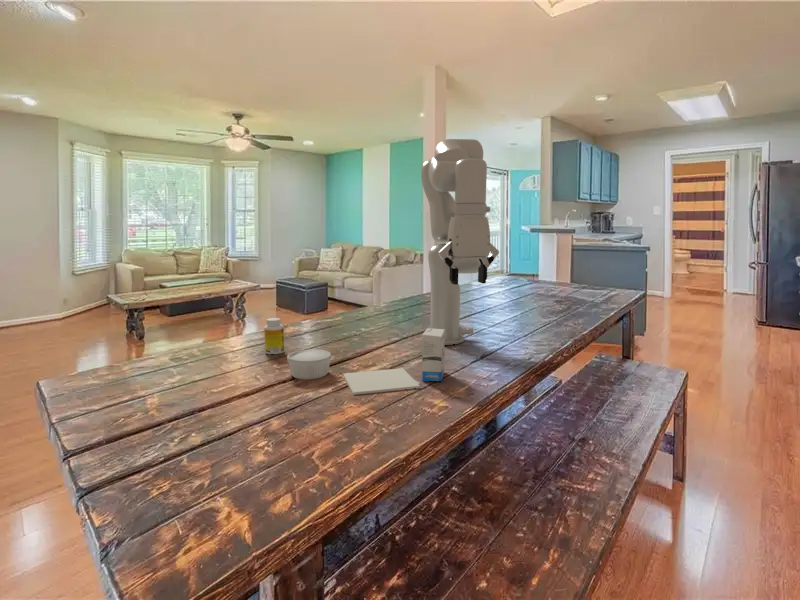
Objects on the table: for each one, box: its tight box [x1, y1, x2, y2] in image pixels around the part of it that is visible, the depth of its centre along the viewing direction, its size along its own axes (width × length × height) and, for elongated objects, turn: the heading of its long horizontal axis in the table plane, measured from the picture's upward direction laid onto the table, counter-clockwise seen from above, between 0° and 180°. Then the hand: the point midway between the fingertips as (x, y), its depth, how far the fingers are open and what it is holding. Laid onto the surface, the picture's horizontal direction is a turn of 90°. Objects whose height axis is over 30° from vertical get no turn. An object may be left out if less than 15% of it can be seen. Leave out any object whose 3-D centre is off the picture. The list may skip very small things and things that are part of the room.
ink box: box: [421, 327, 446, 383], centre depth 122 cm, size 9×5×12 cm, turn 168°
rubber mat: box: [342, 367, 421, 396], centre depth 119 cm, size 16×14×1 cm
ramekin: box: [286, 348, 332, 381], centre depth 125 cm, size 11×11×5 cm
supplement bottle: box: [263, 317, 285, 355], centre depth 144 cm, size 6×6×10 cm
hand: (468, 282), depth 122 cm, fingers open, 6 cm apart
